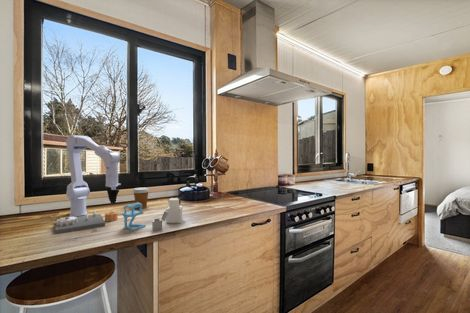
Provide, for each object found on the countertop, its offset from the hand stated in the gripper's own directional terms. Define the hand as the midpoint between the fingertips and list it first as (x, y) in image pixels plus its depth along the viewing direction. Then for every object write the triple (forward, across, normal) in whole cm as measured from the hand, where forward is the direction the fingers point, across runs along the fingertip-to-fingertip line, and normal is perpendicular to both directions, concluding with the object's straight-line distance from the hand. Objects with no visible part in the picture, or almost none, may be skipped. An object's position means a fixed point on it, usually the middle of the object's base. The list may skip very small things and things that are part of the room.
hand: (112, 201), depth 123 cm
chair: (+10, -18, -7) cm, 22 cm away
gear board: (+9, 0, +14) cm, 17 cm away
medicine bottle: (+10, -18, -27) cm, 34 cm away
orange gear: (+9, 0, 0) cm, 9 cm away
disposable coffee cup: (+10, +19, -18) cm, 28 cm away
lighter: (+10, -27, -18) cm, 33 cm away
